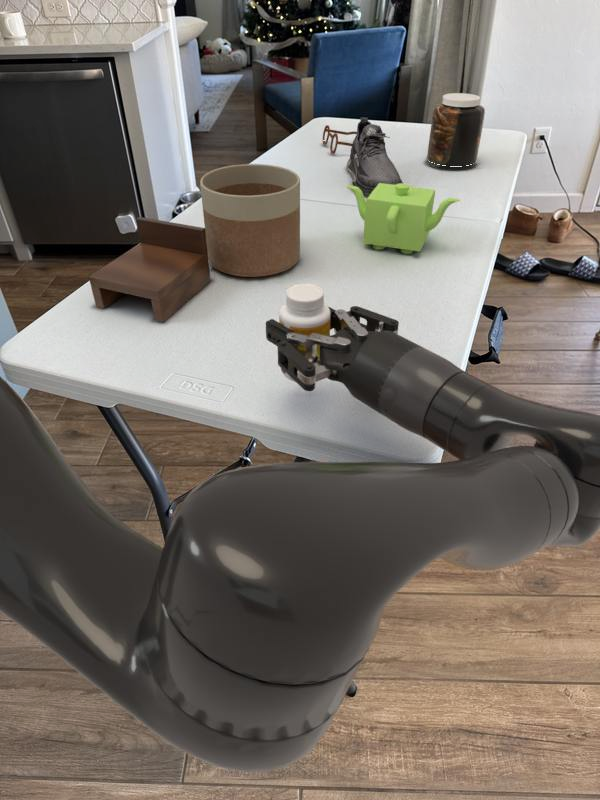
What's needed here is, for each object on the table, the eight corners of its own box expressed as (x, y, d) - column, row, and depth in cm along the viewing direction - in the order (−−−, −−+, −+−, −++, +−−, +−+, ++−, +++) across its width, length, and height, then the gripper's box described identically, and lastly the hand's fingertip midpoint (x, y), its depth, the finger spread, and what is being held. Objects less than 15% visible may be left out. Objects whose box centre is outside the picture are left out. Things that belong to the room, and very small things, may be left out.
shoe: (362, 204, 121) (367, 144, 113) (338, 165, 142) (341, 112, 134) (410, 202, 122) (418, 142, 115) (379, 163, 143) (384, 110, 136)
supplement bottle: (338, 373, 66) (342, 293, 60) (301, 391, 64) (301, 310, 57) (307, 352, 70) (308, 275, 64) (270, 369, 67) (267, 290, 61)
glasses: (321, 143, 157) (321, 123, 154) (367, 140, 159) (368, 120, 156) (333, 157, 147) (334, 136, 144) (382, 154, 149) (384, 133, 146)
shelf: (163, 322, 84) (153, 265, 78) (95, 306, 87) (81, 250, 82) (210, 281, 94) (205, 227, 88) (148, 268, 97) (139, 216, 92)
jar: (455, 174, 137) (467, 104, 127) (417, 163, 143) (425, 96, 134) (484, 164, 143) (497, 97, 133) (446, 153, 149) (456, 89, 140)
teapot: (451, 251, 103) (462, 191, 96) (390, 268, 98) (397, 206, 91) (400, 222, 113) (406, 166, 107) (342, 236, 108) (345, 178, 102)
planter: (258, 233, 109) (255, 157, 100) (318, 260, 100) (320, 179, 91) (190, 259, 100) (179, 178, 92) (249, 290, 91) (244, 204, 83)
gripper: (353, 448, 53) (240, 369, 63) (446, 385, 61) (333, 324, 71) (359, 383, 49) (236, 309, 58) (458, 324, 56) (335, 267, 66)
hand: (289, 317), depth 65 cm, fingers closed on supplement bottle, 5 cm apart
